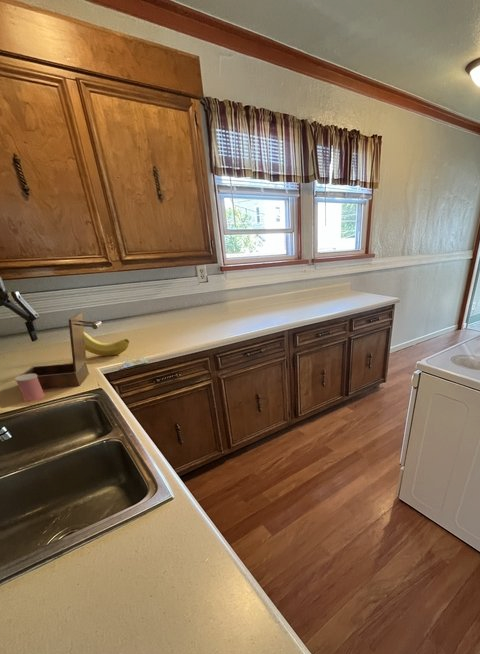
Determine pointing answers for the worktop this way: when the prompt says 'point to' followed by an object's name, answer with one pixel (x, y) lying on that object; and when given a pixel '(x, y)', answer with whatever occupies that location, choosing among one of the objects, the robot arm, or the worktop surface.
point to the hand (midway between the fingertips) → (12, 341)
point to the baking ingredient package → (134, 362)
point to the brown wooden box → (59, 375)
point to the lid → (79, 339)
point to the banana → (105, 346)
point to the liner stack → (30, 387)
